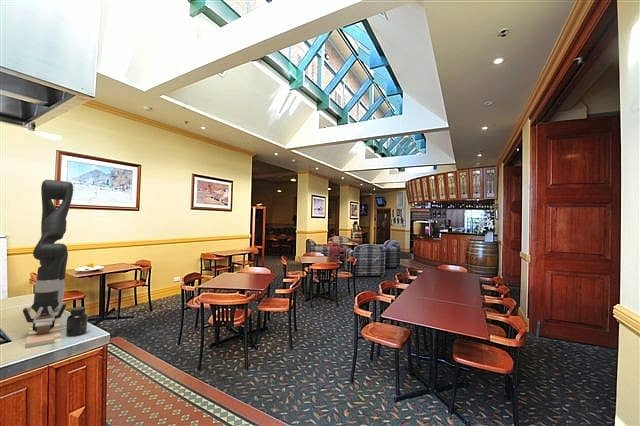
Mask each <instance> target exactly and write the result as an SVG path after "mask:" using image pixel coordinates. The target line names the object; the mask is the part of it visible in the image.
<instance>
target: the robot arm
mask: <svg viewBox="0 0 640 426" xmlns="http://www.w3.org/2000/svg"><path fill="white" fill-rule="evenodd" d="M40 190H41V191H40V192H41V193H40V194H41V196H40V197H41V210H42V211H41V222H40V224H41V225H40V230H41V231H40V234H41V236H40V238H39V241H38V242H37V244H36V245H35V247H34V248H33V251H32V256H33V258H34V259H35V260H37V261H39V265H40V266H39V267H38V268H37V272H36V275H37V276H36V282H35V284H34V294H33V297H34V298H33V302H32V304H31V306H28V307H24V308H23V309H22V313H23V316H24V318H25V321H26V322H27V323H31V324H32V326H33V329H32V330H33V331H35V332H37V327H35V323H36V320H38V317H39V316H40V315H41V314H50V315H51V318H52V325H50V329H52V328H54V324H55V323H56V320H57V319H61V317H62V315H63V313H64V311H65V309H66V308H67V303H64V297H65V296H64V294H65V287H66V286H65V285H66V271H67V270H66V269H67V264H68V259H69V258H68V256H69V252H68V247H67V245H66V244H64V243H60V242H59V243H57V242H58V241H60V240H62V239H63V238H64V235H65V233H66V231H67V217H68V214H69V211H70V207H71V205H72V200H73V196H74V195H73V194H74V185H73V183H72V182H71V181H65V180H55V179H44V180H43V181H42V183H41V189H40ZM53 200H55V201H61V204H60V205H59V206H58V207H56V206H55V204H54V202H53ZM31 310H32V311H34V312H35V316H34V318H32V316H31V314H30V313H31V312H32V311H31ZM55 313H57V314H56V315H55Z"/></svg>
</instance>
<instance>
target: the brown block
mask: <svg viewBox="0 0 640 426" xmlns="http://www.w3.org/2000/svg"><path fill="white" fill-rule="evenodd" d="M50 325H52V318H51V315H50V314H41V315H40V316H39V317H38V320H36V323H35V327H37V333H36V334H41V333H47V332H50Z"/></svg>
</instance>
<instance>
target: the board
mask: <svg viewBox="0 0 640 426" xmlns="http://www.w3.org/2000/svg"><path fill="white" fill-rule="evenodd" d="M32 329H33V325H32V326H29V329H28V333H27V337H31V336H37V335H43V334H49V333H54V343H56V342H61V341H62V336H61V333H62V332H61V322H60V321H59V322H55V324H54V328H52V329H50V332H47V333H41V334H36V333H37V332H35V331H33V330H32Z"/></svg>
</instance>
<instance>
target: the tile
mask: <svg viewBox="0 0 640 426" xmlns="http://www.w3.org/2000/svg"><path fill="white" fill-rule="evenodd" d="M25 339H26V340H25V345H24V348H25V349H28V348H33V347H39V346H45V345H49V344H51V345H52V344H54V343H55V342H54V333H49V334H43V335H37V336H31V337H28V336H27V337H26V338H25Z"/></svg>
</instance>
